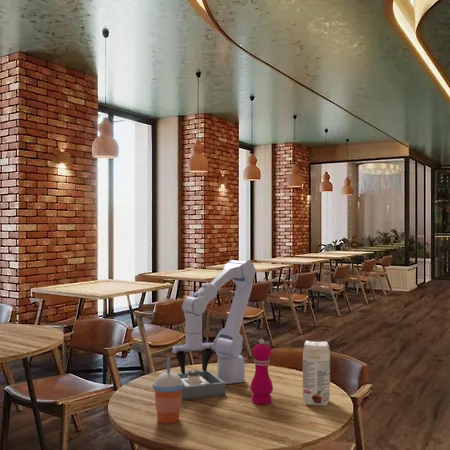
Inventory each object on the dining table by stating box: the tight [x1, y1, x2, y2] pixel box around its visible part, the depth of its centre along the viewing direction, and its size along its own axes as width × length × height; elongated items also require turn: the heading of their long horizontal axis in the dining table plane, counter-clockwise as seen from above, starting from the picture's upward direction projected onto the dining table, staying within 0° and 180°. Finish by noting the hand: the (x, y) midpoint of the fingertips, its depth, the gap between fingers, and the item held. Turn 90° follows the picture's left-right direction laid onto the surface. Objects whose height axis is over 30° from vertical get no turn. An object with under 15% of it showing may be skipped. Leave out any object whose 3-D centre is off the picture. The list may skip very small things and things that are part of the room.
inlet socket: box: [181, 376, 209, 387], centre depth 173 cm, size 8×8×3 cm
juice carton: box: [302, 340, 331, 407], centre depth 162 cm, size 8×9×19 cm
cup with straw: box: [152, 356, 184, 425], centre depth 147 cm, size 9×9×18 cm
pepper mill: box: [250, 338, 274, 406], centre depth 162 cm, size 7×7×20 cm
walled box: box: [176, 369, 226, 402], centre depth 173 cm, size 17×16×4 cm
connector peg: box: [187, 368, 201, 384], centre depth 173 cm, size 4×4×6 cm
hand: (193, 371), depth 173 cm, fingers open, 7 cm apart
